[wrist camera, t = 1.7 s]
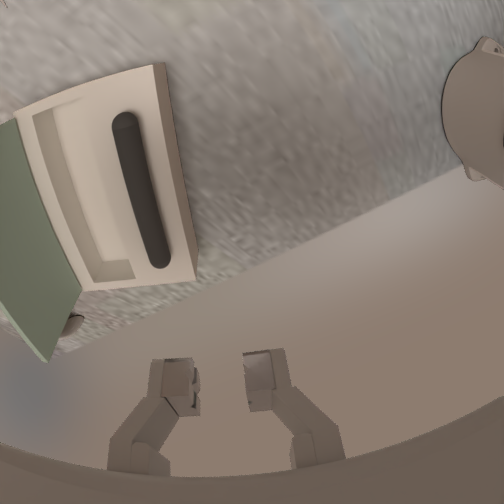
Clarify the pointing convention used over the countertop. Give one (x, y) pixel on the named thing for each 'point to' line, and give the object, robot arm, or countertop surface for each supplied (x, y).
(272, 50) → the countertop surface
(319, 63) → the countertop surface
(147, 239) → the black rounded rod
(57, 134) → the beige rectangular box
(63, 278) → the cover
